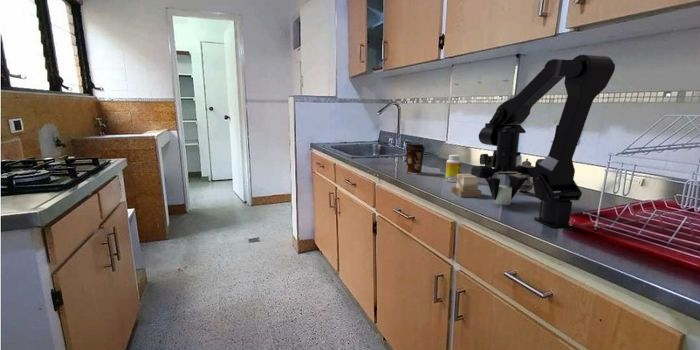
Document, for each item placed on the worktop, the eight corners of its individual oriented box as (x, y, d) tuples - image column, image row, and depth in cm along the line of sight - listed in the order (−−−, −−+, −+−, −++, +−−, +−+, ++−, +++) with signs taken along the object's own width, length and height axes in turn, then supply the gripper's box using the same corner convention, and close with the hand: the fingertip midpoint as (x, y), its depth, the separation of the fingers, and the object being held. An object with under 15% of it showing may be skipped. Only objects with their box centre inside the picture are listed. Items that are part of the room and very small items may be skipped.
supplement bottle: (459, 182, 129) (461, 156, 127) (444, 181, 131) (446, 155, 129) (460, 180, 134) (462, 154, 132) (446, 179, 136) (448, 154, 134)
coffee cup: (400, 171, 151) (401, 143, 148) (415, 170, 154) (416, 142, 152) (411, 175, 143) (412, 144, 140) (427, 174, 146) (429, 144, 144)
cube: (477, 190, 109) (478, 176, 108) (462, 190, 108) (463, 177, 107) (470, 186, 114) (471, 173, 113) (456, 187, 113) (457, 174, 112)
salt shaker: (535, 196, 110) (539, 159, 107) (516, 195, 111) (520, 159, 108) (529, 192, 115) (533, 157, 113) (511, 191, 116) (515, 156, 114)
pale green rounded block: (514, 204, 99) (515, 188, 98) (498, 205, 99) (500, 188, 98) (504, 200, 104) (506, 184, 103) (490, 200, 103) (491, 185, 102)
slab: (481, 198, 108) (481, 190, 108) (460, 199, 107) (461, 191, 107) (470, 193, 115) (470, 186, 115) (451, 193, 114) (451, 186, 114)
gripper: (519, 144, 107) (514, 192, 110) (464, 145, 105) (460, 193, 108) (543, 148, 97) (537, 201, 99) (483, 149, 94) (478, 203, 97)
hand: (502, 199), depth 101 cm, fingers closed on pale green rounded block, 5 cm apart
